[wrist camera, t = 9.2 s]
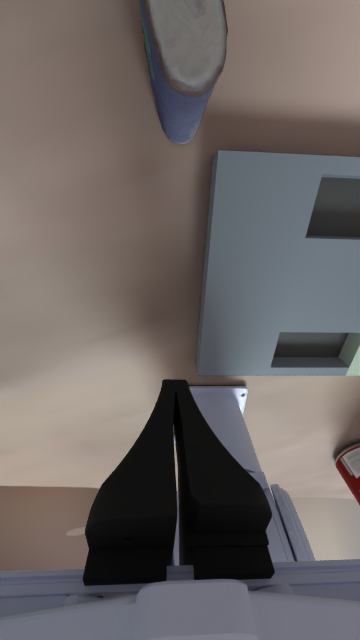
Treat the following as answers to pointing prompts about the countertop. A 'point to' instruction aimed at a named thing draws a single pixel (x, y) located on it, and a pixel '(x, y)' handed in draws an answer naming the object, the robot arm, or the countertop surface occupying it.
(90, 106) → the countertop surface
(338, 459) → the soda can
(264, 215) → the trap deck
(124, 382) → the countertop surface
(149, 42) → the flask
